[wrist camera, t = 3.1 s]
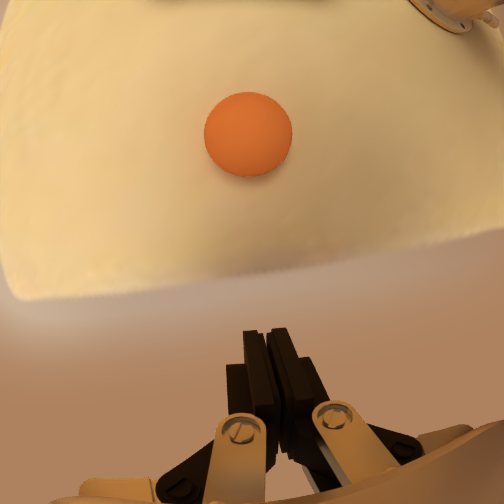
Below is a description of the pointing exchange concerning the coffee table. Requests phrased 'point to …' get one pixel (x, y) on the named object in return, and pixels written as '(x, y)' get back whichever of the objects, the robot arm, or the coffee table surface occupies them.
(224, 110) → the ball
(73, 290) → the coffee table surface
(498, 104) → the coffee table surface
